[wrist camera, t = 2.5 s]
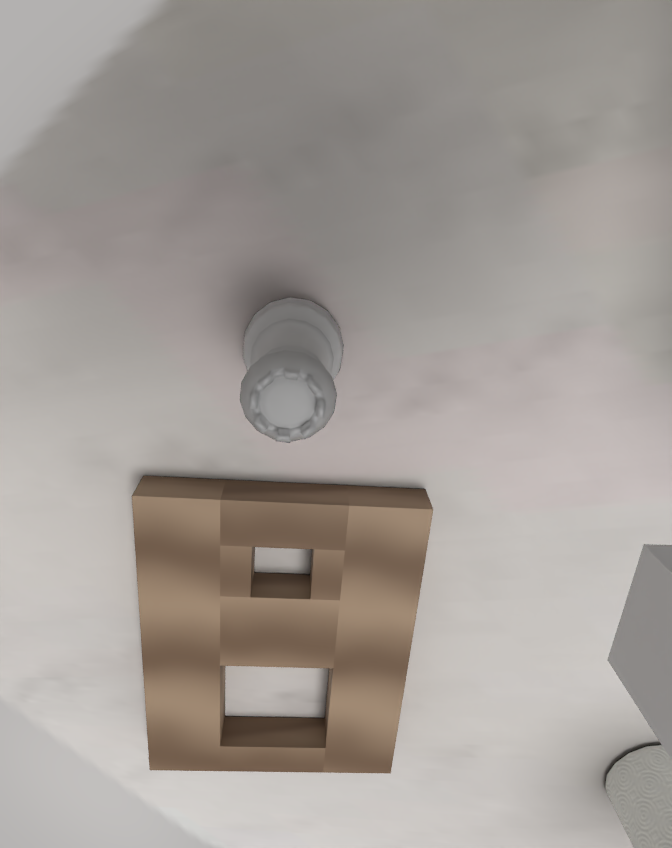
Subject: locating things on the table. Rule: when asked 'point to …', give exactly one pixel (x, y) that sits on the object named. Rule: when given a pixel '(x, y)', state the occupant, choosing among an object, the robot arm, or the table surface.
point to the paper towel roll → (643, 796)
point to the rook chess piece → (290, 369)
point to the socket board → (276, 617)
